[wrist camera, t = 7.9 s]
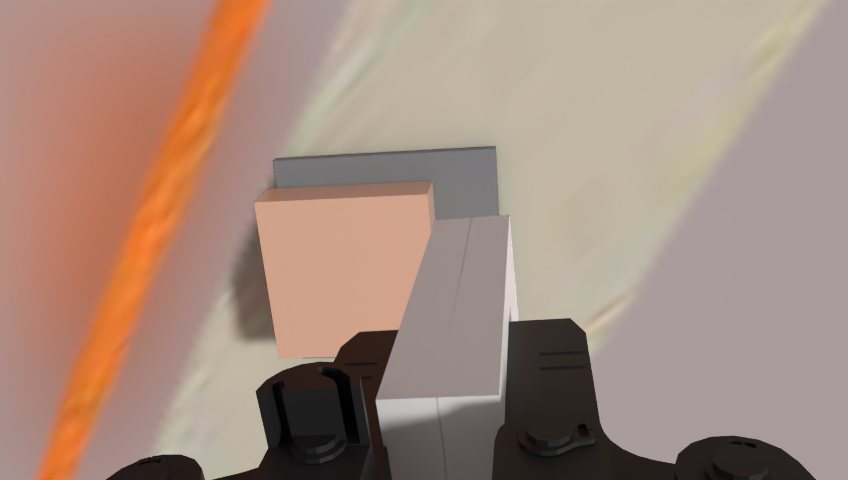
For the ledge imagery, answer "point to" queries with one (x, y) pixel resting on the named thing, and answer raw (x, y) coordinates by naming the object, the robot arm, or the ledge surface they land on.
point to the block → (341, 259)
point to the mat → (407, 176)
